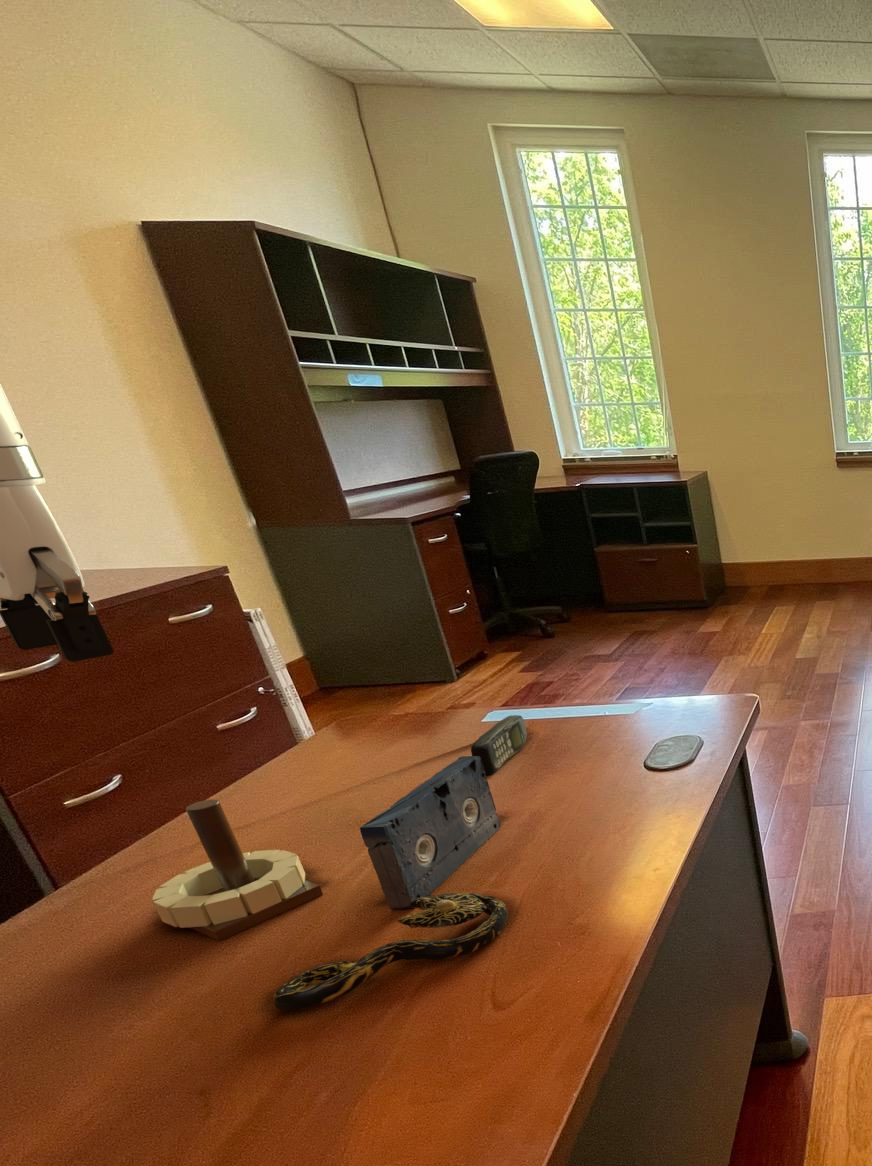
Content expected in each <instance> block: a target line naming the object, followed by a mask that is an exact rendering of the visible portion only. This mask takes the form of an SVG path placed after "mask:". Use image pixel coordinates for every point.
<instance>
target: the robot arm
mask: <svg viewBox="0 0 872 1166" xmlns="http://www.w3.org/2000/svg"><path fill="white" fill-rule="evenodd" d="M40 467H41V466H40V465H39V463H38V461H37V459H36V456H35V455H34V453H33V450H32V448H31V446H30V444H29V442H28V440H27V438H26V436H25V433H24V431H23V429H22V426H21V425H20V423H19V421H18V418H17V417H16V414H15V412H14V410H13V407H12V405H11V403H10V401H9V399H8V397H7V395H6V393H5V390H4V387H3V386H2V383H1V382H0V617H1V620H2V622H3V623H4V625H5V627H6V629H7V631H8V633H9V635H10V636H11V639H12V640H13V643H14V644H15V646H16V648H17V649H19V650H23V651H28V650H33V649H40V648H44V647H51V646H58V648H59V650H60V652H61V655H62V656H63V658H64V659H65V660H66V661H68V662H80V661H85V660H90V659H91V660H92V659H96V658H97V659H98V658H102V657H107V656H112V655H113V654H114V652H115V651H114V648H113V645H112V644H111V642H110V640H109V638H108V636H107V633H106V632H105V629H104V626H103V625H102V622H101V621H100V618H99V616H98V614H97V611H96V608H95V607H94V605H93V604H92V603H91V602H90V600H89V599H90V597H91V596H90V595H88V593H89V592H86V591H84V587H85V586H86V584H85V580H84V578H83V575H82V572H81V569H80V568H79V565H78V562H77V560H76V558H75V556H74V554H73V552H72V550H71V548H70V546H69V544H68V542H67V540H66V538H65V536H64V533H63V532H62V530H61V528H60V527H59V525H58V523H57V521H56V519H55V518H54V516H53V514H52V512H51V510H50V507H49V506H48V505H47V503H46V502H45V500H44V498H43V496H42V495H41V493H40V491H39V490H38V488H37V486H38V485H44V484H45V485H46V484H47V481H46V479H45V477H44V474H43V472H42V470H41V468H40ZM52 599H54V601H55V603H54V602H53V600H52Z"/></svg>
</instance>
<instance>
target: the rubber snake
mask: <svg viewBox="0 0 872 1166" xmlns="http://www.w3.org/2000/svg"><path fill="white" fill-rule="evenodd" d="M410 905H411V907H415V908H414V909H417V910H421V911H418V912H413V913H411V914H408V915H404V916H402V917H399V918H397V923H399V924H402V925H404V926H408V927H409V928H411V929H417V928H428V929H435V928H436V929H437V928H447V927H455V926H458V925H461V924H465V923H467V922H470V921H472V920H474V919H476V918H478V917H480V916H481V915H482V914H483V913H484V914H487V915H488V916H489V917H488V919H486V920H484V921H483V922H482V923H481V924H480V925H478V926H477V927H476V928H475V929H473V930H472V931H470V932H469V933H467V934H465V935H462V936H459V937H455V938H452V939H442V940H425V939H422V940H421V939H408V940H407V939H401V940H397V941H393V942H389V943H386V944H384V945H382V946H379V947H377V948H375V949H373V950H372V951H370V952H368V953H366V955H363V957H361V958H359V959H358V960H357V961H356V962H354V961H347V960H345V961H336V962H331V963H330V962H329V963H326V964H321V965H318V966H316V967H313V968H311V969H307V970H305V971H303V972H301V973H299V974H298V975H296V976H294V977H293V978H292V979H290V980H288V981H287V982H286V983H284V984H282V985H281V986H280V987H279V988H278V989H277V990H276V992H275V993H274V994H273V1004H274V1007H275V1008H276V1009H278V1010H283V1011H288V1012H290V1011H298V1010H305V1009H307V1008H310V1007H314V1006H318V1005H321V1004H323V1003H326V1002H329V1001H332V1000H334V999H337V998H339V997H342V996H344V995H347V994H349V993H350V992H352V991H354V990H355V989H357V988H358V987H360V986H362V985H363V984H365V983H366V982H367V981H368V980H370V978H372V977H373V976H374V975H376V974H378V972H379V971H380V970H382V969H383V968H384V967H386V966H389V965H390V964H392V963H394V962H397V961H401V960H402V961H403V960H406V961H411V960H416V961H417V960H422V959H424V960H429V961H440V960H447V959H452V958H456V957H459V956H464V955H467V954H470V953H474V952H476V951H477V950H478V949H480V948H481V947H482V946H484V945H486V944H488V943H490V942H493V940H494V939H495V938H497V936H499V935H500V934H501V932H502V930H503V929H504V927H505V925H506V922H507V920H508V915H509V914H508V913H509V912H508V911H509V910H508V907H507V906H506V904H505V903H504V901H502V900H500V899H497V897H494V896H491V895H486V894H482V893H477V892H473V893H472V892H471V893H470V892H461V893H453V892H452V893H442V894H435V895H428V896H426V897H421V898H417V899H414V900H412V901H411V902H410Z"/></svg>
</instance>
